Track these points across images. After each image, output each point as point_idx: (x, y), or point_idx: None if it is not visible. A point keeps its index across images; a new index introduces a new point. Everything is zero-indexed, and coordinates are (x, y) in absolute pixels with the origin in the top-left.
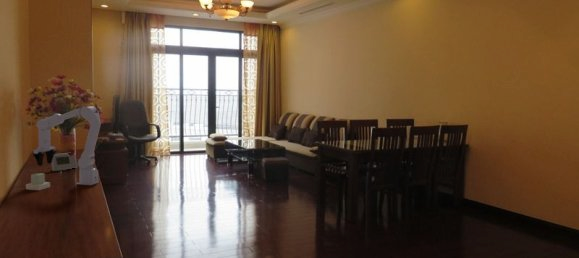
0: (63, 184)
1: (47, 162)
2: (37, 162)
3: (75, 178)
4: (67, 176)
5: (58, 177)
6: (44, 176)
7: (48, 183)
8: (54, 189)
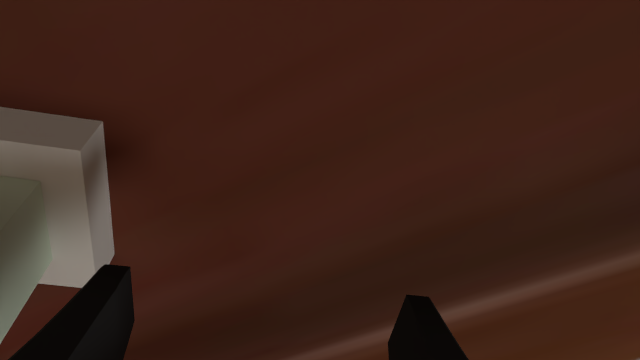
0: (243, 302)
1: (408, 307)
2: (60, 319)
3: (511, 291)
4: (630, 196)
5: (584, 133)
6: (9, 320)
7: (73, 281)
8: (49, 315)
